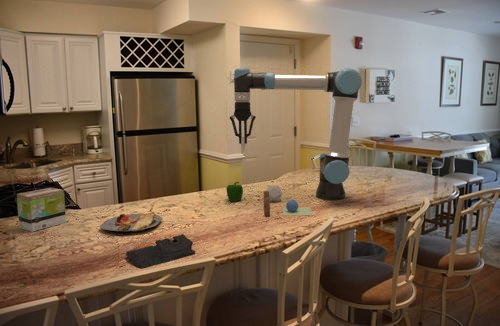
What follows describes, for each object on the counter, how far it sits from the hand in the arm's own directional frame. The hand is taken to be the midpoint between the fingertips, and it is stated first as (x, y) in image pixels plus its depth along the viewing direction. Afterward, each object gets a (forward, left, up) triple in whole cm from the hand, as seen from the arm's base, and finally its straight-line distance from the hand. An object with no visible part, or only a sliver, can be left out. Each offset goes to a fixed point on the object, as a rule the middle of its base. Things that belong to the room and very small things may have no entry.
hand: (243, 150), depth 196 cm
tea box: (+83, +34, -27) cm, 94 cm away
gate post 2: (-11, +22, -26) cm, 36 cm away
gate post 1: (-11, +10, -26) cm, 30 cm away
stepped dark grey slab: (+26, +66, -27) cm, 76 cm away
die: (-15, -4, -27) cm, 31 cm away
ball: (-23, +16, -24) cm, 37 cm away
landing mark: (-25, +16, -26) cm, 40 cm away
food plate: (+45, +35, -27) cm, 63 cm away
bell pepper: (+5, -5, -27) cm, 28 cm away
